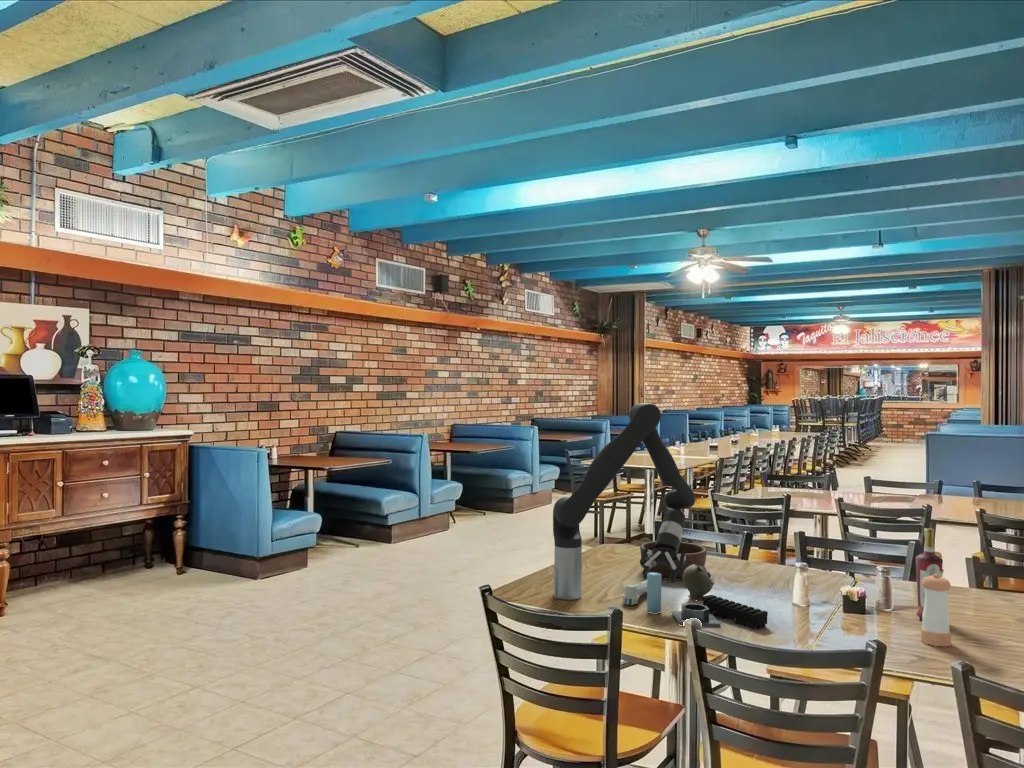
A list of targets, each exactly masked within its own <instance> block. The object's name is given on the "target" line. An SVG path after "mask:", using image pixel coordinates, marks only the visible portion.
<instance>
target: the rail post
mask: <svg viewBox="0 0 1024 768" xmlns="http://www.w3.org/2000/svg"><path fill="white" fill-rule="evenodd" d="M647 611H648V612H652V613H658V612H661V613H662V578H661V574H660V573H654V572H652V573H647V592H646V612H647Z"/></svg>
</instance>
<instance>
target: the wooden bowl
mask: <svg viewBox="0 0 1024 768" xmlns="http://www.w3.org/2000/svg"><path fill="white" fill-rule="evenodd" d="M655 544H656V540H655V541H649V542H644V543H642V544H641V545H640V547H639V551H640V556H641V557H642V554H643V551H644V549H645V548H647V549H648V550H649V551H653V550H654V548H655ZM681 553H684V554H685V556H686V562H685V568H684V571H685V569H686V568H687V567H689V566H691V565H693V563H694V564H695V565H699V566H704V567H706V562H707V561H706V560H707V555H708V550H707V548H706V547H705V546H703V545H701V544H700V545H699V544H697V543H691V542H686V541H680V545H679V549H678V552H677V554H681ZM652 556H653V555H650V557H649V558H648V559H647V561H649V559H650V558H651V557H652ZM641 557H640V558H641ZM654 561H655V560H654ZM679 562H680V561H679V559H678V558H677V559H676V560H675V561H674V564H675V566H676V567H679ZM649 570H650V571H649V573H652V572H654V573H660V574H661V579H664V578H667V579H666V580H669V578H670V574H671V570H673V569H672V568H671V566H670V565H668V566H664V565H658V564H657V565H656V566H654V567H652V568H650V569H649ZM683 573H684V572H683ZM683 573H681V572H679V573H677V576H676V579H682V576H683Z"/></svg>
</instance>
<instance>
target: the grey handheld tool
mask: <svg viewBox="0 0 1024 768" xmlns="http://www.w3.org/2000/svg"><path fill="white" fill-rule="evenodd" d="M646 593H647V580H646V579H644V580H643V581H641V582H638V583H636V584H634V585H633V584H632V585H631V584H629V585H626V586H625V589H624V593H622V595H621V596H622V598H623V599H622V604H624V605H627V606H634V605H635V604H637V603H638V604H639V602H638V601H639V599H640V594H646Z"/></svg>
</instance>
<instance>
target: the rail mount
mask: <svg viewBox="0 0 1024 768" xmlns="http://www.w3.org/2000/svg"><path fill="white" fill-rule="evenodd" d="M702 605H705V606H707V607H708V608H709V611H710V613H711V614H712V615H713V616H714V617H715V616H716V617H715V618H719V619H722V620H725V616H727V617H730V618H732V619H733V618H734V624H737V625H739V626H743V627H745V626H746V627H745V628H748V627H749V629H751V628H752V630H754V629H755V631H757V626H758V627H764V626H765V627H766V625H768V614H769V613H768V611H766V610H762V609H760V608H755V607H754V606H753V607H752V606H748V605H746V604H742V603H740V602H735V601H733V600H729V599H727V598H723V597H720V596H718V597H717V596H716V595H715V594H714V595H713V594H708V595H704V596H703V601H702Z"/></svg>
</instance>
